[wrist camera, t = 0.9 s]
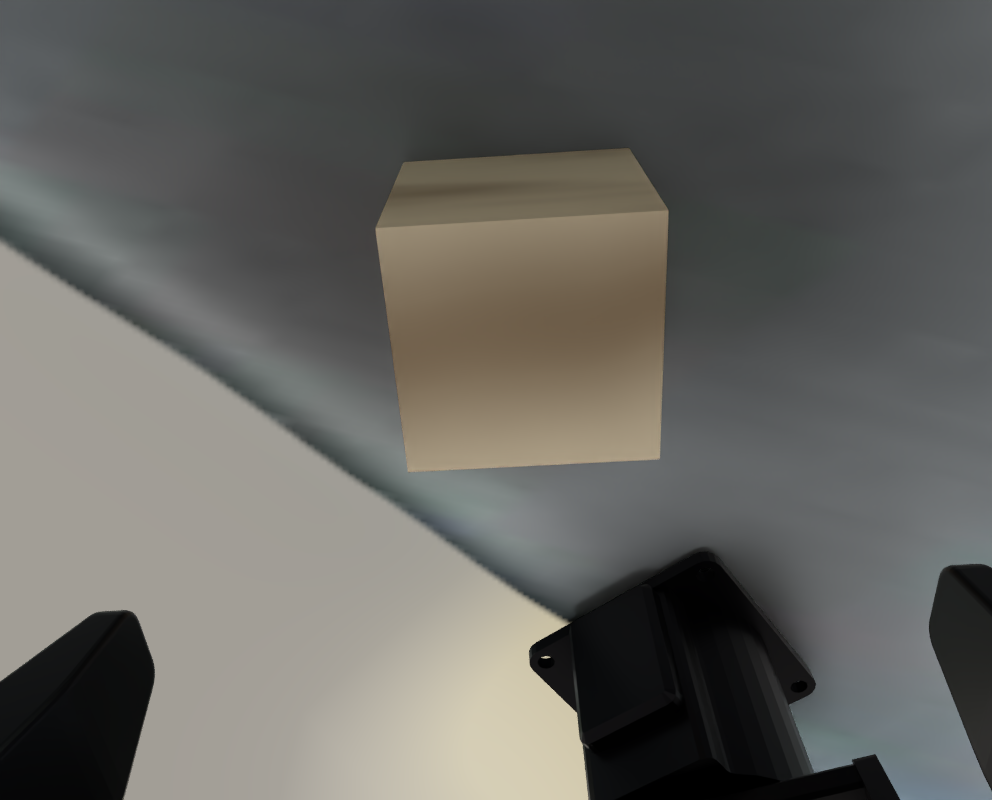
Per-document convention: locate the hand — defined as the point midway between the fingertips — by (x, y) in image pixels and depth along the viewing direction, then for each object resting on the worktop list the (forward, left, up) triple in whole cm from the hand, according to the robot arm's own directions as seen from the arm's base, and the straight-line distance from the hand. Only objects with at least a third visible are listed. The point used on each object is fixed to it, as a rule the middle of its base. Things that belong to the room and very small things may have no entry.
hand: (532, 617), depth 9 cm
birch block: (0, 0, -12) cm, 12 cm away
